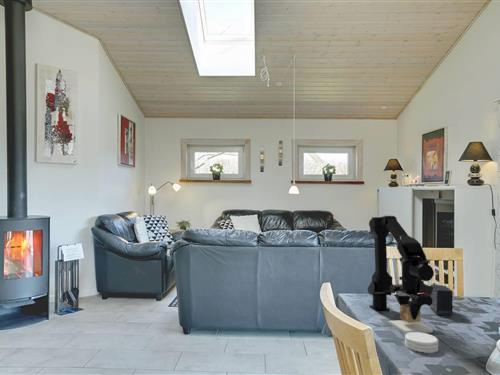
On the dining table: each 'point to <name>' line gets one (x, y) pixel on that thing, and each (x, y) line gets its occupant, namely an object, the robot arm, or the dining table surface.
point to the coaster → (421, 342)
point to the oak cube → (408, 314)
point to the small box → (442, 300)
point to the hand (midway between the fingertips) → (409, 317)
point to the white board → (410, 326)
